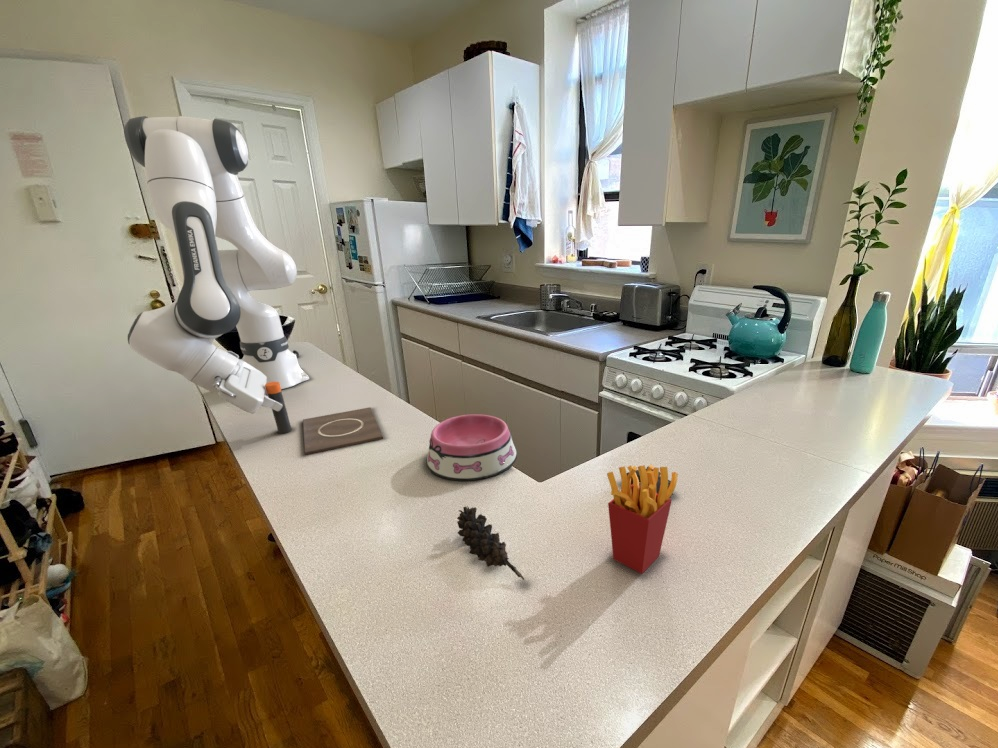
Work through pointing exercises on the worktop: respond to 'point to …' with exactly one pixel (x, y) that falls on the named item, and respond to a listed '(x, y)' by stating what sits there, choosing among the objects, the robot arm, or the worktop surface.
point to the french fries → (639, 515)
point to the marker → (281, 416)
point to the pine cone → (483, 539)
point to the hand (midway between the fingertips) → (281, 405)
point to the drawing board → (340, 430)
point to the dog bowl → (470, 448)
